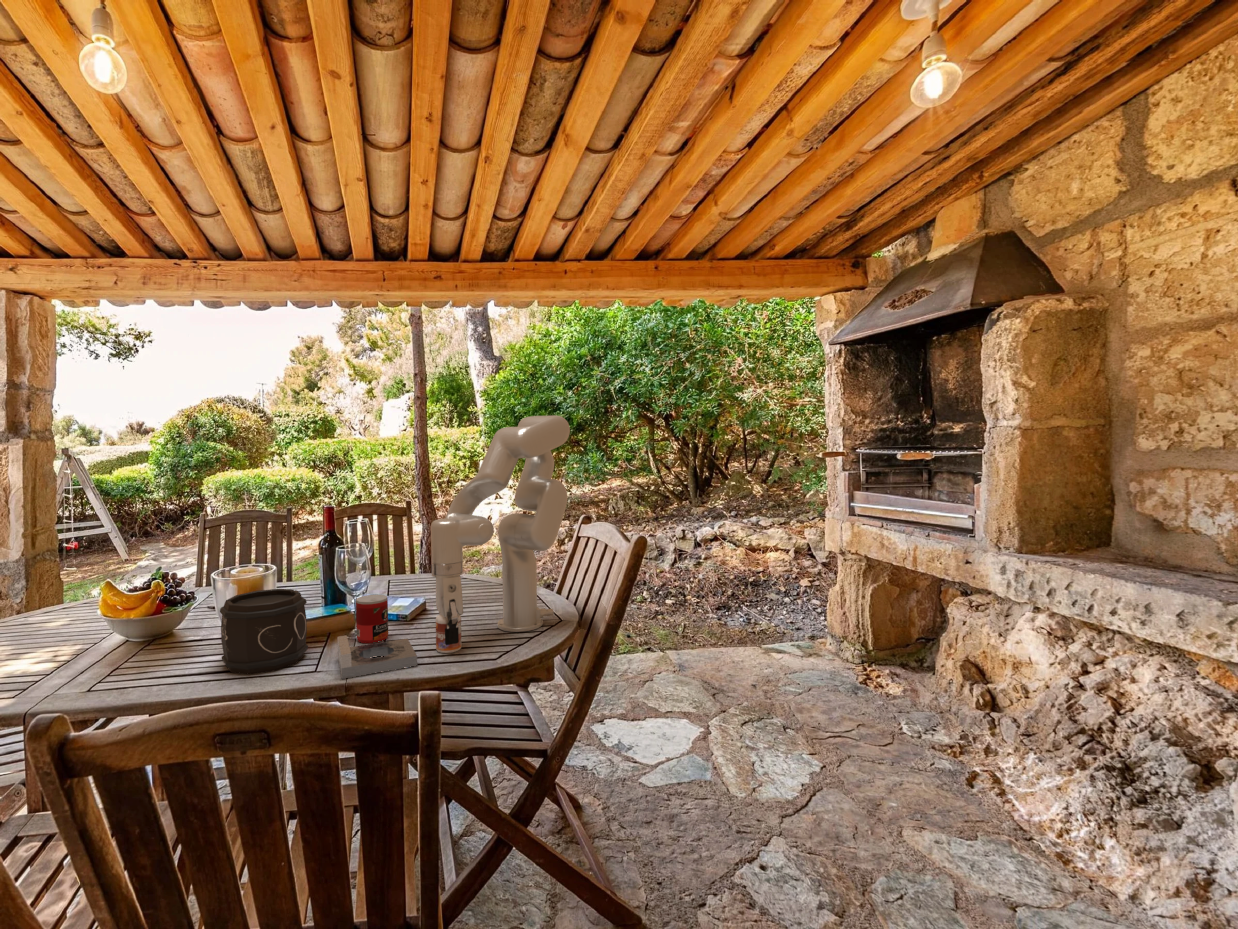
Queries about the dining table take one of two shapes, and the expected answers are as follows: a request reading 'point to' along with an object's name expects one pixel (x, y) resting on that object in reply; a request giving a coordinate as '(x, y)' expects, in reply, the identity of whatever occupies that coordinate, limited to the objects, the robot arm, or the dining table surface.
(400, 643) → the jig
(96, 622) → the dining table surface
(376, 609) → the canned food
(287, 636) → the chalk-marked storage tub
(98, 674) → the dining table surface
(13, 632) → the dining table surface
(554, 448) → the robot arm
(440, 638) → the pill bottle
